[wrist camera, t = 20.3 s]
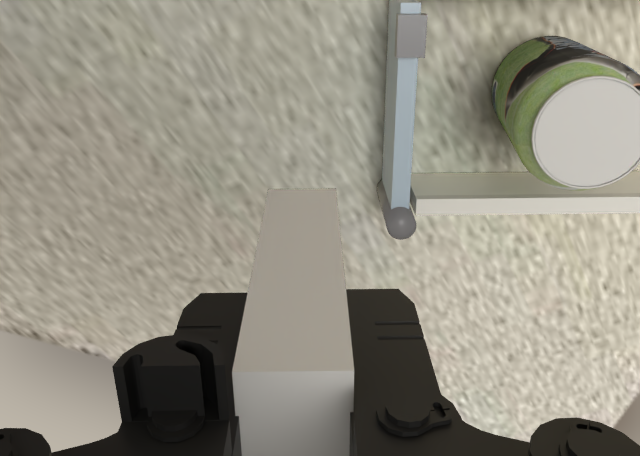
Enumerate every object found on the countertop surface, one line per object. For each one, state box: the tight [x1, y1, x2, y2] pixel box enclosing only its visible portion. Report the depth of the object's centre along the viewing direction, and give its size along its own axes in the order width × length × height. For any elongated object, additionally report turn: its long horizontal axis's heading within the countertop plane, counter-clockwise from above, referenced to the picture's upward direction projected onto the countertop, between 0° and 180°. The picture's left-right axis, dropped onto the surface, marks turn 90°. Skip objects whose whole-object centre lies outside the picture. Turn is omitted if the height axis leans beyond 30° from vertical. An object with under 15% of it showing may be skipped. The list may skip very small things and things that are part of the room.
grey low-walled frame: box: [410, 171, 640, 216], centre depth 35 cm, size 17×13×5 cm
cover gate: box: [377, 0, 428, 239], centre depth 34 cm, size 12×2×6 cm, turn 0°
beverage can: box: [492, 36, 640, 191], centre depth 31 cm, size 6×7×12 cm
